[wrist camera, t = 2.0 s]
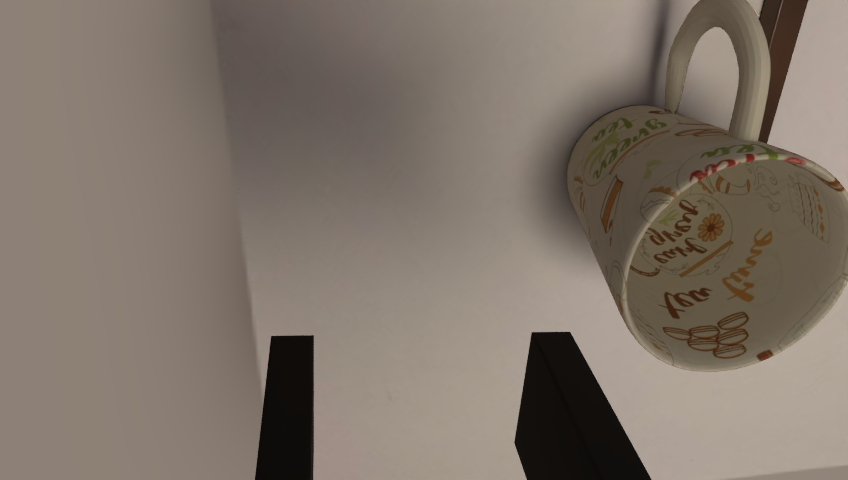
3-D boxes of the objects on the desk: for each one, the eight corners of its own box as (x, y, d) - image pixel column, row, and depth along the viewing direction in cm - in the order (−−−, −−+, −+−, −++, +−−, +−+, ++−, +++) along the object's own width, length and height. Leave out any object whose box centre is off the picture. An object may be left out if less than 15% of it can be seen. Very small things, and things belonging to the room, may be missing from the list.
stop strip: (781, -64, 29) (798, -62, 28) (807, -62, 29) (826, -59, 28) (690, 279, 36) (702, 291, 35) (713, 279, 36) (724, 291, 35)
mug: (533, 252, 34) (607, 381, 25) (559, -26, 29) (664, 14, 20) (697, 245, 35) (823, 366, 26) (753, -26, 30) (936, 13, 21)
